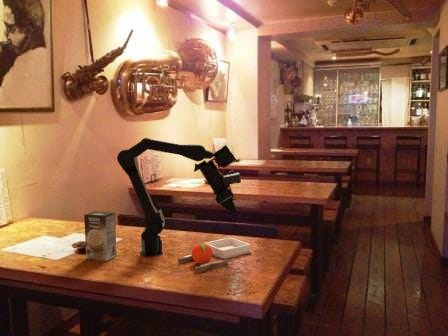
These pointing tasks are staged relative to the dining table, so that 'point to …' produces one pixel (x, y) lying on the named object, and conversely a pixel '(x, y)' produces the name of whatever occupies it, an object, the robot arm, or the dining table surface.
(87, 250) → the coffee box
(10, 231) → the dining table surface
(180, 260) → the cradle
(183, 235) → the dining table surface
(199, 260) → the clementine
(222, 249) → the bin
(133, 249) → the dining table surface
